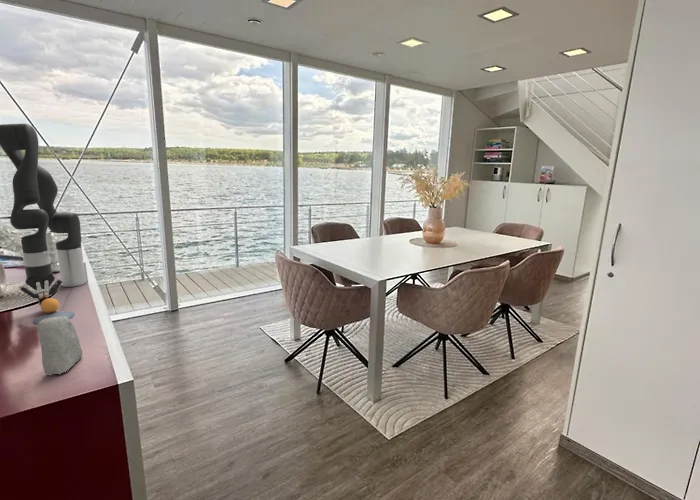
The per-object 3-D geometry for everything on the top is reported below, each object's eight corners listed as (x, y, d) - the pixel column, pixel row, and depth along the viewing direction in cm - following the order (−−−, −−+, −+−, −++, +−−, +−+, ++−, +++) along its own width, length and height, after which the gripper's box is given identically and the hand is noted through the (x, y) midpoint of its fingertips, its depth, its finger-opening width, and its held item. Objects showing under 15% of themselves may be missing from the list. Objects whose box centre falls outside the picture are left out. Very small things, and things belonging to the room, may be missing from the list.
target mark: (54, 310, 142) (54, 309, 142) (82, 312, 141) (82, 312, 141) (23, 323, 131) (23, 322, 131) (54, 325, 129) (54, 325, 129)
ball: (49, 297, 143) (53, 293, 140) (60, 308, 144) (64, 304, 141) (35, 306, 139) (38, 302, 136) (46, 317, 140) (49, 313, 137)
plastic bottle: (66, 270, 193) (61, 232, 188) (52, 274, 186) (46, 235, 182) (58, 269, 195) (52, 231, 190) (44, 272, 188) (37, 234, 184)
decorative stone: (67, 356, 110) (59, 308, 107) (88, 355, 110) (81, 308, 107) (40, 376, 99) (31, 324, 96) (64, 376, 100) (55, 324, 96)
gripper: (16, 268, 131) (25, 314, 135) (62, 261, 141) (68, 304, 145) (11, 264, 135) (19, 308, 139) (56, 257, 145) (62, 299, 149)
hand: (44, 306), depth 142 cm, fingers closed
